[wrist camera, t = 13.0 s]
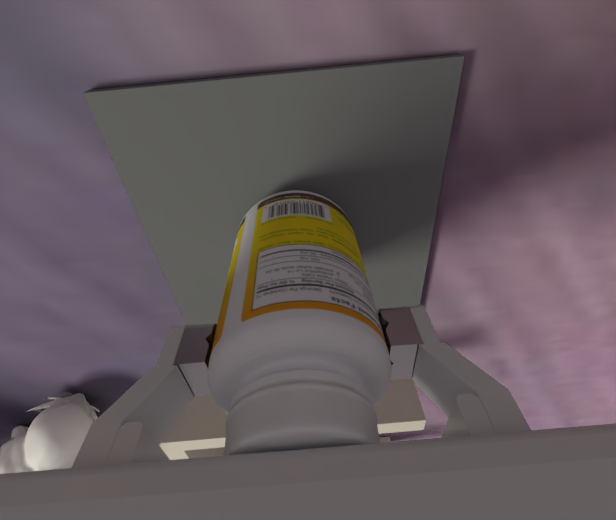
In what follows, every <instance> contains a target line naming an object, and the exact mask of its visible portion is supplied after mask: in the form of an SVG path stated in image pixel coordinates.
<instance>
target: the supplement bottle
mask: <svg viewBox="0 0 616 520" xmlns="http://www.w3.org/2000/svg"><path fill="white" fill-rule="evenodd" d="M391 373H392V367H391V361H390V356H389V352H388V348H387V345H386V341H385V338H384V335H383V331H382V328H381V324H380V321H379V317H378V314H377V310H376V307H375V303H374V300H373V296H372V293H371V289H370V286H369V282H368V279H367V275H366V271H365V268H364V265H363V261H362V258H361V254H360V250H359V247H358V244H357V240H356V236H355V233H354V230H353V227H352V225H351V222H350V220H349V218H348V217H347V215H346V214H345V212H344V211H343V210H342V209H341V208H340V207H339V206H338V205H337V204H335V203H334V202H333V201H331V200H330V199H328V198H326V197H324V196H322V195H319V194H316V193H313V192H309V191H301V190H291V191H284V192H279V193H276V194H273V195H270V196H268V197H266V198H264V199H262V200H261V201H259V202H258V203H256V204H255V205H254V206H253V207H252V208H251V209H250V210H249V211H248V212H247V213H246V215H245V216H244V218H243V219H242V221H241V223H240V226H239V229H238V232H237V236H236V241H235V246H234V251H233V255H232V260H231V264H230V269H229V273H228V278H227V282H226V287H225V291H224V296H223V300H222V305H221V309H220V314H219V319H218V323H217V328H216V332H215V337H214V341H213V346H212V351H211V355H210V360H209V366H208V385H209V389H210V392H211V395H212V397H213V398H214V400H215V402H216V403H217V405H218V406H219V407H220V408H221V409H222V410H223V411H224V412H225V413H226V414H227V415H228V417H227V420H226V440H225V449H224V456H225V455H238V454H250V453H262V452H274V451H286V450H298V449H310V448H323V447H335V446H347V445H360V444H372V443H380V438H379V432H378V427H377V424H378V417H377V414H376V411H375V409H374V408H375V407H376V406H377V405H378V404H379V403H380V401H381V400H382V398H383V397H384V395H385V394H386V392H387V390H388V387H389V384H390V380H391Z"/></svg>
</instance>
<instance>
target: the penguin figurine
mask: <svg viewBox="0 0 616 520" xmlns="http://www.w3.org/2000/svg"><path fill="white" fill-rule="evenodd" d="M48 398H50V399H55V400H53V401H50V402H48V403H45V404H42V405H40V406H37V407H34V408H33V409H30V410H28V411H31V410H34V409H36V410H38V409H42V408H46V409H45V410H43V411H42V412H40V414H39V415H38V416H37V417H36V418H35V419H34V420H33V422H32V423H31V425H30V427H27V426H24V425H19V426H17V427H15V428H14V429H13V430H12V434H11V439H10V440H8V441H7V442H6V443H4V444H3V445H2V446H1V447H0V474H5V473H18V472H30V471H42V470H55V469H67V468H71V467H72V465H73V463H74V461H75V459H76V457H77V454H78V452H79V450H80V448H81V446H82V444H83V441H84V439H85V437H86V435H87V433H88V431H89V428H90V426H91V424H92V423H93V420H96V419H97V418H98V417H97V415H96V413H95V411H94V410H96V411H100V410H98V409H97V408H95V407H93V406H92V405H90V404H89V403H88V402H87V401H86V398H85V396H84V394H82V393H76V394H74V395H72V396H68V397H64V398H60V397H48ZM47 407H48V408H47ZM37 408H38V409H37ZM34 411H35V410H34ZM38 412H39V411H38ZM23 413H24V412H23Z"/></svg>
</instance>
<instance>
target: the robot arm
mask: <svg viewBox="0 0 616 520" xmlns="http://www.w3.org/2000/svg"><path fill="white" fill-rule="evenodd" d="M378 317H379V321H380V324H381V328H382V331H383V335H384V338H385V341H386V345H387V348H388V352H389V356H390V361H391V367H392V373H391V379H408V378H412V380H413V381H414V382H415V383H416V384H417V385H418V386H419V387H420V388H421V389H422V390H423V392H424V393H425V394H426V395H427V396H428V397H429V398H430V399H431V400H432V401H433V402H434V403H435V404H436V405H437V406H438V407H439V408H440V409H441V410H442V411H443V413H444V414H445V415H446V416H447V417H448V418H449V420H448V422H447V425H446V428H445V430H444V433H443V436H442V438H434V439H421V440H409V441H397V442H385V443H372V444H360V445H347V446H335V447H323V448H310V449H298V450H286V451H274V452H262V453H250V454H238V455H225V456H213V457H201V458H189V459H177V460H170V459H169V458H168V456H167V455H166V454H165V452H164V451H163V450H162V449H161V447H160V446H159V445H160V444H161V442H162V441H163V440H164V438H165V437H166V436H167V434H168V433H169V432H170V430H171V429H172V427H173V426H174V425H175V423H176V422H177V421H178V419H179V418H180V417H181V415H182V414H183V413H184V411H185V410H186V409H187V407H188V406H189V405H190V403H191V402H192V401H193V399H194V397H195V396H204V395H211V392H210V389H209V385H208V366H209V360H210V355H211V351H212V346H213V341H214V337H215V332H216V328H217V324H200V325H187V326H173V327H172V328H171V329H170V330H169V333H168V335H167V338H166V341H165V344H164V347H163V349H162V352H161V355H160V358H159V361H158V363H157V366H156V367H152V368H151V369H150V370H149V371H148V372H146V373H145V374H144V375H143V376H142V377H141V378H140V379H139V380H138V381H137V382H136V383H135V384H134V385H133V386H132V387H130V388H129V389H128V390H127V391H126V392H125V393H124V394H123V395H122V396H121V397H120V398H119V399H118V400H117V401H116V402H114V403H113V404H112V405H111V406H110V407H109V408H108V409H107V410H106V411H105V412H104V413H103V414H102V415H101V416H100V417H98V418H97V419H96V420H95V421H94V422H93V423H92V424H91V426H90V428H89V431H88V433H87V435H86V437H85V439H84V441H83V444H82V446H81V448H80V450H79V452H78V454H77V457H76V459H75V461H74V463H73V465H72V467H71V468H67V469H55V470H42V471H30V472H18V473H5V474H0V520H616V424H604V425H592V426H580V427H567V428H555V429H543V430H531V429H530V427H529V425H528V424H527V422H526V420H525V418H524V416H523V415H522V413H521V411H520V409H519V407H518V406H517V404H516V402H515V400H514V398H513V397H512V395H511V393H510V391H509V390H508V389H507V388H506V387H504V386H503V385H502V384H500V383H499V382H498V381H496V380H495V379H494V378H492V377H491V376H489V375H488V374H487V373H485V372H484V371H483V370H481V369H480V368H479V367H477V366H476V365H475V364H473V363H472V362H471V361H469V360H468V359H467V358H465V357H464V356H462V355H461V354H460V353H458V352H457V351H456V350H454V349H453V348H452V347H450V346H449V345H448V344H446V343H445V342H443V343H440V341H439V338H438V336H437V334H436V332H435V329H434V327H433V325H432V323H431V320H430V318H429V316H428V314H427V311H426V309H425V307H424V306H423V305H416V306H408V307H407V306H404V307H394V308H384V309H379V310H378Z"/></svg>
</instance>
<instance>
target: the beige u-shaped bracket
mask: <svg viewBox="0 0 616 520" xmlns="http://www.w3.org/2000/svg"><path fill="white" fill-rule="evenodd" d="M374 409H375V411H376V414H377V417H378V424H377V427H378V432H379V434H382V433H393V432H405V431H416V430H423V429H424V426H425V422H426V418H425V415H424V412H423V409H422V406H421V403H420V400H419V397H418V394H417V391H416V388H415V385H414V382H413V380H412V378H408V379H391V380H390V384H389V387H388V390H387V392H386V394H385V395H384V397H383V398H382V400H381V401H380V403H379V404H378V405H377V406H376V407H375V408H374ZM227 417H228V415H227V414H226V413H225V412H224V411H223V410H222V409H221V408H220V407H219V406H218V405H217V403H216V402H215V400H214V398H213V397H212V395H204V396H195V397H194V399H193V401H192V402H191V403H190V405H189V406H188V407H187V409H186V410H185V411H184V413H183V414H182V415H181V417H180V418H179V419H178V421H177V422H176V423H175V425H174V426H173V427H172V429H171V430H170V432H169V433H168V434H167V436H166V437H165V438H164V440H163V441H162V442H161V444H160V445H159V446H160V447H161V449H162V450H163V451H164V452H165V454H166V455H167V456H168V458H169V459H170V460H177V459H189V458H201V457H213V456H224V449H225V440H226V420H227ZM379 438H380V443H385V442H391V441H390V437H379Z"/></svg>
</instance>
